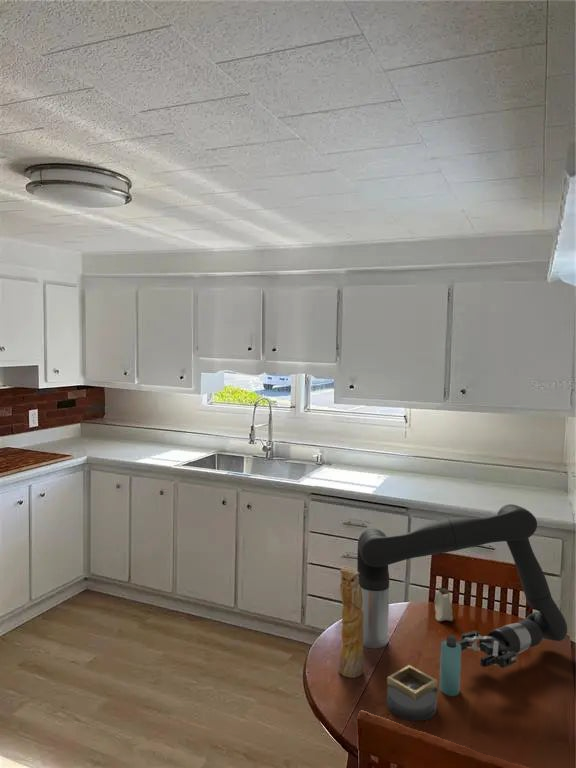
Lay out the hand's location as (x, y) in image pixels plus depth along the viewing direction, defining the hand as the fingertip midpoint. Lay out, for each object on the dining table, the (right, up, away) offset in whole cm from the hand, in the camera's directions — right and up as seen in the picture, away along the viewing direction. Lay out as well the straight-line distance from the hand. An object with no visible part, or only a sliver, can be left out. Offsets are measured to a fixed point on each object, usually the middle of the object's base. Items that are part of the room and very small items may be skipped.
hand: (468, 655), depth 152 cm
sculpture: (-31, -7, +3) cm, 32 cm away
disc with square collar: (-17, -8, -9) cm, 21 cm away
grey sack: (+3, -5, +37) cm, 38 cm away
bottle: (-6, -8, -3) cm, 10 cm away
